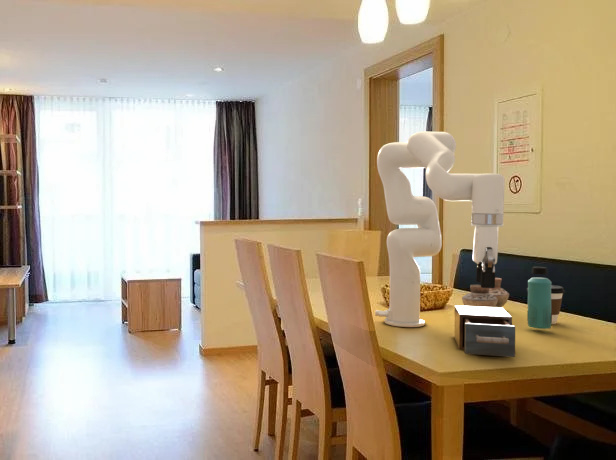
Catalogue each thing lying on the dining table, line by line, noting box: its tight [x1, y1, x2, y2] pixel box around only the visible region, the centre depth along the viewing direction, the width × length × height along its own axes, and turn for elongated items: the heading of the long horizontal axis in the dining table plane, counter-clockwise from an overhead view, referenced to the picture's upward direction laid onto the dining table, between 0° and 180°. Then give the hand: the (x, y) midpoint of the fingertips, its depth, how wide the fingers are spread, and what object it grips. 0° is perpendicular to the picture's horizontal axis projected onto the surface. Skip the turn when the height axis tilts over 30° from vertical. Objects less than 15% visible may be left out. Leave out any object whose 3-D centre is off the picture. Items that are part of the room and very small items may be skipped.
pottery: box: [461, 277, 510, 308], centre depth 207 cm, size 11×25×12 cm, turn 135°
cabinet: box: [453, 305, 513, 351], centre depth 161 cm, size 15×13×10 cm
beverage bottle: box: [526, 266, 553, 330], centre depth 177 cm, size 6×7×20 cm
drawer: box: [463, 317, 516, 358], centre depth 150 cm, size 18×11×8 cm, turn 161°
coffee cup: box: [526, 284, 566, 325], centre depth 191 cm, size 11×11×12 cm
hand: (485, 284), depth 153 cm, fingers open, 9 cm apart
